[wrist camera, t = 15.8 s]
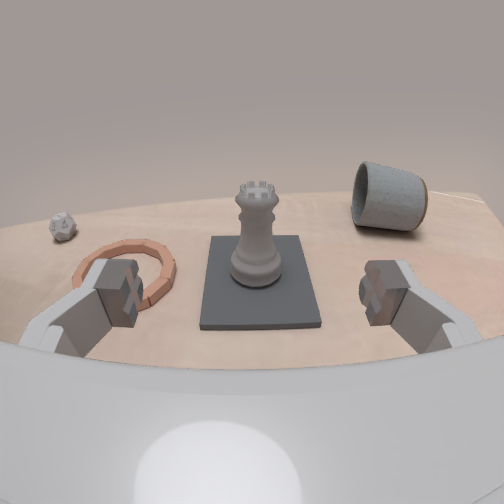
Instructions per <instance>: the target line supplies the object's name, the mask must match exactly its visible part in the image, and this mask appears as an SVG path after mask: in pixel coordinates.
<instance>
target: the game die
mask: <svg viewBox="0 0 504 504" xmlns="http://www.w3.org/2000/svg"><path fill="white" fill-rule="evenodd" d="M76 225H77V224H76V223H75V221H74V219H73V218H72V216H70V215H69V214H68V213H67V212H62V213H58V214H56V215H55V216H54V217H53V218H52V219H51V223H50V227H49V230H50V232H51V234H52V236H53V237H54V238H55V239H57V240H58V241H65V240H69V239H70V238H71V237H72V236H73V234H74V232H75V228H76Z"/></svg>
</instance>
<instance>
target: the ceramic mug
mask: <svg viewBox="0 0 504 504" xmlns="http://www.w3.org/2000/svg"><path fill="white" fill-rule="evenodd" d="M427 204H428V194H427V188H426V185H425V183H424V181H423V180H422V179H421V178H420V177H419V176H417V175H415V174H413V173H411V172H407V171H403V170H399V169H395V168H391V167H387V166H383V165H379V164H375V163H371V162H367V161H365V162H363V163H362V164H361V165H360V167H359V169H358V171H357V174H356V178H355V182H354V189H353V196H352V215H353V221H354V223H355V224H356V225H359V226H368V227H376V228H386V229H394V230H401V231H408V230H414V229H416V228H417V227H418V226H419V225H420V224H421V223H422V221H423V219H424V217H425V214H426V210H427Z"/></svg>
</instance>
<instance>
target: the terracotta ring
mask: <svg viewBox="0 0 504 504" xmlns="http://www.w3.org/2000/svg"><path fill="white" fill-rule="evenodd" d="M124 253H147V254H149V255H151V256H154V257H156V258H159V259H160V261H161V263H162V265H163V267H162V270H161V273H160V276H159V278H157V279H156V280H155V281H154V282H153V283H152V284H150V285H149V286H148V287H147V288H146V289H145V290H143V299H142V303H141V305H140V306H138V307H137V308H136V309H137V311H140V310H143V309H146V308H149V307H150V305H151V306H152V305H153V304H155V303H156V302H157V301H158V300H159V299H160V298H161V297H162V296H163V295H164V294H165V293H167V292H168V291H169V290H170V289H171V287H172V284H173V280H174V276H175V272H176V264H175V259H174V258H173V256H172V255H171V253H170V252H169V250H168V248H167V247H166V246H165V245H162V244H159V243H157V242H154V241H151V240H149V239H148V240H147V239H129V240H125V241H124V240H121V241H118V242H115V243H112V244H109V245H106V246H103V247H102V248H99V249H98V250H96V251H95V252H93V253H92V254H91V255H89V256H88V257H86V258H85V259H83V261H82V262H81V263H80V265H79V266H78V268H77V270H76V271H75V273H74V275H73V276H72V277H73V278H72V284H73V290H74V289H75V288H80V286H81V285H82V283H83V281H84V279H85V277H86V275H87V274H88V272H89V270H90V268H91V266H92V265H93V263H94V261H95V260H96V259H108V258H111V257H114V256H117V255H121V254H124Z"/></svg>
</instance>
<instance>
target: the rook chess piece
mask: <svg viewBox="0 0 504 504" xmlns="http://www.w3.org/2000/svg"><path fill="white" fill-rule="evenodd" d="M247 184H248V187H247V188H246V184H242V185H241V186H240V193H239V194H238V195H237V196H236V198H235V201H236V203H237V204H238V205H239V206H240V207H241V210H242V212H241V213H240V214H239V220H240V221H241V234H240V240H239V244H238V245H237V246H236V249H235V251H234V252H233V253H232V256H231V266H230V273H231V274H232V276H233V278H234V279H235V280H237V281H238V282H239V283H241V284H242V285H245V286H248V287H264V286H267V285H270V284H271V283H272V282H274V281H275V280H276V279H278V278H279V276H280V274H281V272H282V270H281V257H280V254H279V252H278V251H277V248H276V246H275V245H274V243H273V235H272V222H273V221H274V220H275V215H274V214H273V213H272V210H273V208H274V207H275V206H276V205H277V204H278V202H279V198H278V196H277V195H276V194H275V193H274V192H275V190H274V186H273V185H272V184H268V188H266V182H263V181H260V183H259V186H258V187H257V186H256V187H255V186H254V181H250V182H247Z"/></svg>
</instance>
